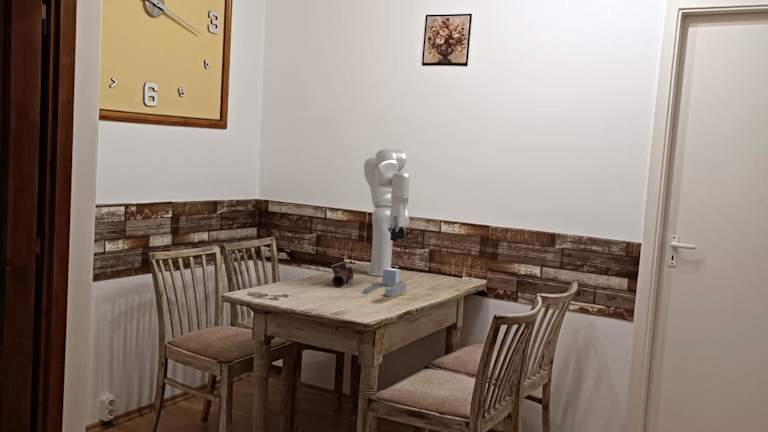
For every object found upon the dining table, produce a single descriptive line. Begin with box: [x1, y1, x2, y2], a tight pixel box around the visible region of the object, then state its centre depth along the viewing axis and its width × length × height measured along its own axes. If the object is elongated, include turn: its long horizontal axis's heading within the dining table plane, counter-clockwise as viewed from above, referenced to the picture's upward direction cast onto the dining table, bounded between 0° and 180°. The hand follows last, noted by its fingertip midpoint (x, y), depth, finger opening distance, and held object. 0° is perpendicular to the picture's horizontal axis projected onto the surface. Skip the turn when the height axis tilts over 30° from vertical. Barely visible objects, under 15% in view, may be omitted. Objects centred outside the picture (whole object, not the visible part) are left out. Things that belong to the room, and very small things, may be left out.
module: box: [382, 267, 401, 287], centre depth 340 cm, size 6×5×7 cm
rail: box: [363, 280, 407, 298], centre depth 325 cm, size 12×18×4 cm
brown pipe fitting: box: [330, 261, 354, 288], centre depth 335 cm, size 6×17×10 cm, turn 174°
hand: (397, 239), depth 339 cm, fingers open, 9 cm apart
